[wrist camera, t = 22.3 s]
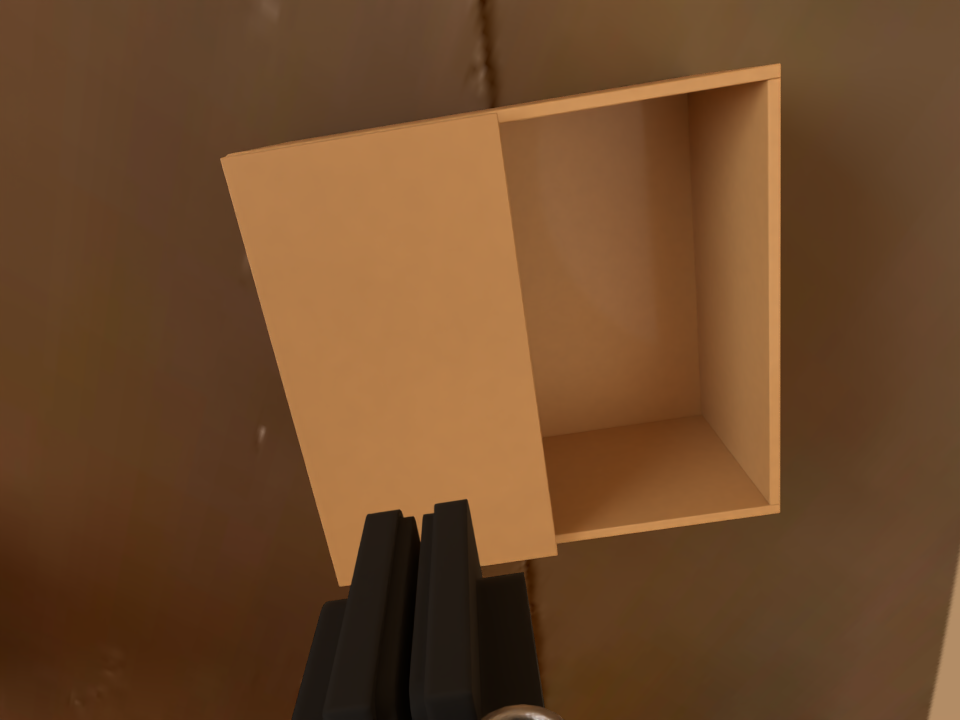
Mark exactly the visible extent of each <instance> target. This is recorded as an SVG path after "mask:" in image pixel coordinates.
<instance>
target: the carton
mask: <svg viewBox="0 0 960 720" xmlns="http://www.w3.org/2000/svg"><path fill="white" fill-rule="evenodd" d="M780 77H781V64H779V63H778V64H771V65H764V66H756V67H749V68H742V69H734V70H727V71H720V72H712V73H705V74H698V75H691V76H685V77H679V78H673V79H667V80H661V81H655V82H648V83H642V84H636V85H630V86H624V87H618V88H612V89H606V90H600V91H594V92H588V93H582V94H576V95H570V96H564V97H558V98H552V99H545V100H539V101H533V102H527V103H521V104H515V105H509V106H503V107H497V108H491V109H485V110H479V111H473V112H467V113H461V114H455V115H449V116H442V117H436V118H430V119H424V120H418V121H412V122H406V123H400V124H394V125H388V126H382V127H376V128H370V129H364V130H358V131H352V132H346V133H339V134H333V135H327V136H321V137H315V138H309V139H303V140H297V141H292V142H287V143H282V144H277V145H272V146H267V147H262V148H257V149H252V150H247V151H242V152H237V153H232V154H228V155H227V157H228V156H234V155H240V154H246V153H253V152H259V151H265V150H271V149H277V148H283V147H289V146H295V145H301V144H307V143H313V142H319V141H325V140H331V139H337V138H343V137H350V136H356V135H362V134H368V133H374V132H380V131H386V130H392V129H398V128H404V127H410V126H416V125H422V124H428V123H434V122H440V121H447V120H453V119H459V118H465V117H471V116H477V115H483V114H489V113H497V114H498V120H499V127H500V135H501V142H502V149H503V157H504V164H505V171H506V179H507V186H508V193H509V200H510V208H511V215H512V222H513V230H514V237H515V244H516V252H517V259H518V266H519V274H520V281H521V288H522V295H523V303H524V310H525V317H526V325H527V332H528V339H529V347H530V354H531V361H532V368H533V376H534V383H535V390H536V398H537V405H538V412H539V420H540V427H541V434H542V442H543V449H544V456H545V463H546V471H547V478H548V485H549V493H550V500H551V507H552V515H553V522H554V529H555V537H556V544H558V543H565V542H572V541H579V540H587V539H594V538H601V537H608V536H615V535H623V534H630V533H637V532H644V531H652V530H659V529H666V528H673V527H680V526H688V525H695V524H702V523H709V522H717V521H724V520H731V519H738V518H745V517H753V516H760V515H767V514H774V513H780V235H781V79H780Z"/></svg>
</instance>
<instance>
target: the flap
mask: <svg viewBox="0 0 960 720" xmlns="http://www.w3.org/2000/svg"><path fill="white" fill-rule="evenodd" d="M220 160H221V163H222V167H223V171H224V174H225V178H226V181H227V185H228V189H229V192H230V196H231V199H232V203H233V207H234V210H235V214H236V217H237V221H238V224H239V228H240V232H241V235H242V239H243V242H244V246H245V250H246V253H247V257H248V260H249V264H250V268H251V271H252V275H253V278H254V282H255V285H256V289H257V293H258V296H259V300H260V303H261V307H262V311H263V314H264V318H265V321H266V325H267V329H268V332H269V336H270V339H271V343H272V346H273V350H274V354H275V357H276V361H277V364H278V368H279V372H280V375H281V379H282V382H283V386H284V390H285V393H286V397H287V400H288V404H289V407H290V411H291V415H292V418H293V422H294V425H295V429H296V433H297V436H298V440H299V443H300V447H301V451H302V454H303V458H304V461H305V465H306V468H307V472H308V476H309V479H310V483H311V486H312V490H313V494H314V497H315V501H316V504H317V508H318V512H319V515H320V519H321V522H322V526H323V529H324V533H325V537H326V540H327V544H328V547H329V551H330V555H331V558H332V562H333V565H334V569H335V573H336V576H337V580H338V583H339V586H340V587H341V586H348V585H351V582H352V577H353V573H354V568H355V564H356V559H357V555H358V550H359V546H360V541H361V537H362V532H363V528H364V523H365V519H366V516H367V515H368V514H372V513H378V512H385V511H391V510H398V509H400V510H401V511H402V514H403V517H410V516H414V517H415V520H416V524H417V528H418V533H419V537H420V542H421V531H422V519H423V515H424V514H430V513H434V505H435V504H437V503H443V502H450V501H457V500H463V499H467V500H468V503H469V508H470V513H471V519H472V524H473V529H474V535H475V540H476V545H477V551H478V556H479V561H480V566H486V565H493V564H500V563H507V562H514V561H521V560H527V559H534V558H541V557H548V556H555V555H558V551H557V544H556V537H555V529H554V522H553V515H552V507H551V500H550V493H549V485H548V478H547V471H546V463H545V456H544V449H543V442H542V434H541V427H540V420H539V412H538V405H537V398H536V390H535V383H534V376H533V368H532V361H531V354H530V347H529V339H528V332H527V325H526V317H525V310H524V303H523V295H522V288H521V281H520V274H519V266H518V259H517V252H516V244H515V237H514V230H513V222H512V215H511V208H510V200H509V193H508V186H507V179H506V171H505V164H504V157H503V149H502V142H501V135H500V127H499V120H498V114H497V113H489V114H483V115H477V116H471V117H465V118H459V119H453V120H447V121H440V122H434V123H428V124H422V125H416V126H410V127H404V128H398V129H392V130H386V131H380V132H374V133H368V134H362V135H356V136H350V137H343V138H337V139H331V140H325V141H319V142H313V143H307V144H301V145H295V146H289V147H283V148H277V149H271V150H265V151H259V152H253V153H246V154H240V155H234V156H228V157H223V158H221V159H220Z"/></svg>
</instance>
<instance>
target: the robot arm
mask: <svg viewBox="0 0 960 720" xmlns="http://www.w3.org/2000/svg"><path fill="white" fill-rule="evenodd" d="M292 720H564V719H563V718H561V717H560V716H559V715H558V714H557V713H555V712H552V711H550V710H548V709H545V706H544V700H543V693H542V686H541V679H540V673H539V666H538V659H537V653H536V646H535V640H534V633H533V627H532V621H531V614H530V608H529V602H528V596H527V589H526V583H525V577H524V572H521V573H514V574H508V575H501V576H495V577H488V578H482V572H481V567H480V561H479V556H478V551H477V545H476V540H475V535H474V529H473V524H472V519H471V513H470V508H469V503H468V500H467V499H463V500H457V501H450V502H443V503H437V504H435V505H434V513H430V514H424V515H423V519H422V531H421V542H420V537H419V533H418V528H417V524H416V520H415V517H414V516H410V517H403V514H402V511H401V510H400V509H398V510H391V511H385V512H378V513H372V514H368V515H367V516H366V519H365V523H364V528H363V532H362V537H361V541H360V546H359V550H358V555H357V559H356V564H355V568H354V573H353V577H352V582H351V586H350V591H349V595H348V599H342V600H335V601H328V602H326V603H325V604H324V605H323V607H322V610H321V613H320V616H319V620H318V624H317V627H316V631H315V635H314V638H313V642H312V646H311V649H310V653H309V657H308V661H307V664H306V668H305V672H304V675H303V679H302V683H301V686H300V690H299V694H298V698H297V701H296V705H295V709H294V712H293V716H292Z"/></svg>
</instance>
